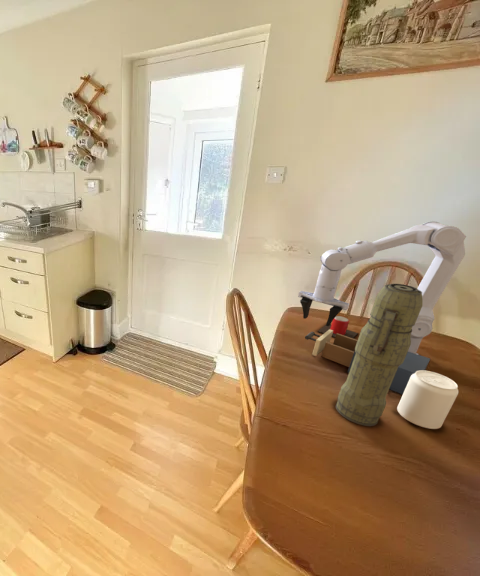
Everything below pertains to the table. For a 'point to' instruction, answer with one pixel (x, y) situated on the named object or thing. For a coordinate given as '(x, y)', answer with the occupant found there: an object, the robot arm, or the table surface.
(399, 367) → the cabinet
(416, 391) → the white cylinder
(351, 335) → the dark brown flat plate
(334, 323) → the red can
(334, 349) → the drawer
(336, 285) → the robot arm
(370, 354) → the thermos
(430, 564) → the table surface
